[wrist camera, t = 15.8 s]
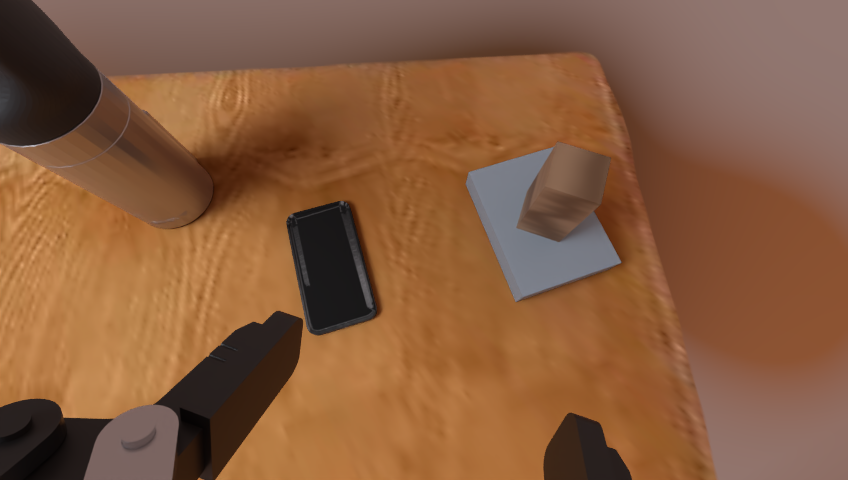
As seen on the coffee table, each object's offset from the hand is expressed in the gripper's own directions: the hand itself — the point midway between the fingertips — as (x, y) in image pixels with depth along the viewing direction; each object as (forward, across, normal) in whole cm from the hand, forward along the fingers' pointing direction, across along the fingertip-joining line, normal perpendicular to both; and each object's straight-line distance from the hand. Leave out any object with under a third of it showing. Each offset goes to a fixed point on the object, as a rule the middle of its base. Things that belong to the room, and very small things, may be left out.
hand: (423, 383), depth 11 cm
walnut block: (+34, -8, +5) cm, 35 cm away
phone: (+27, +14, +16) cm, 34 cm away
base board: (+36, -8, +7) cm, 37 cm away
